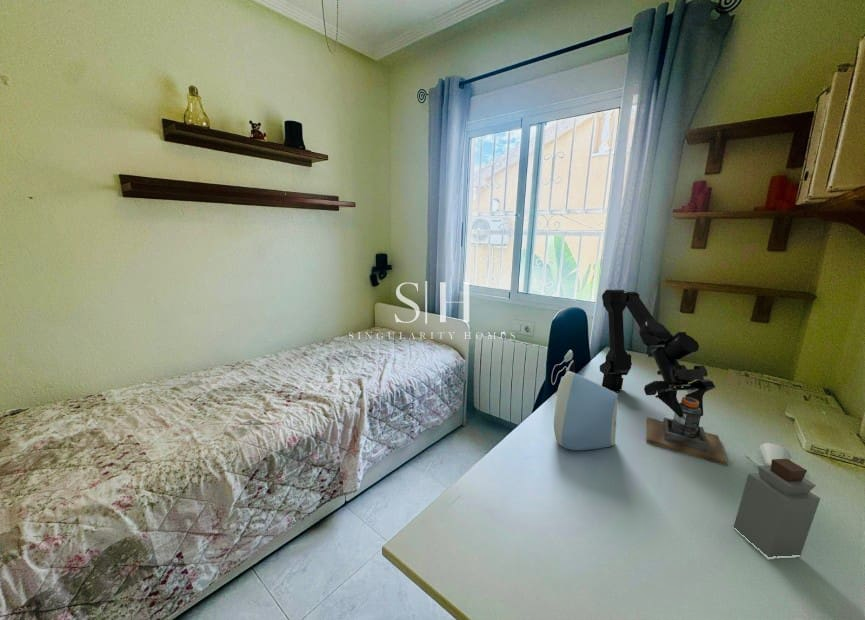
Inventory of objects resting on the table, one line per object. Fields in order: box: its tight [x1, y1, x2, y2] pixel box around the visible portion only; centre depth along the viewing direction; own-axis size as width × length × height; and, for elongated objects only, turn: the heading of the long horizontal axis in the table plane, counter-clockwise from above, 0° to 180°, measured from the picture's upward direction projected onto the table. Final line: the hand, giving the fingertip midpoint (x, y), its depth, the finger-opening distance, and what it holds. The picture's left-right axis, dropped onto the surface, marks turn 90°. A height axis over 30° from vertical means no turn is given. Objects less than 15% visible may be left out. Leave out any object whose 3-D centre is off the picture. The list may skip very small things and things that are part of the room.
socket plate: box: [645, 416, 728, 467], centre depth 97 cm, size 18×14×4 cm
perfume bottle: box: [733, 459, 821, 557], centre depth 63 cm, size 7×7×18 cm
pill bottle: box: [671, 396, 702, 439], centre depth 96 cm, size 6×6×11 cm
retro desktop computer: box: [550, 349, 619, 451], centre depth 96 cm, size 25×23×17 cm
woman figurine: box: [744, 441, 808, 479], centre depth 86 cm, size 12×4×18 cm
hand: (691, 416), depth 94 cm, fingers closed on pill bottle, 6 cm apart
